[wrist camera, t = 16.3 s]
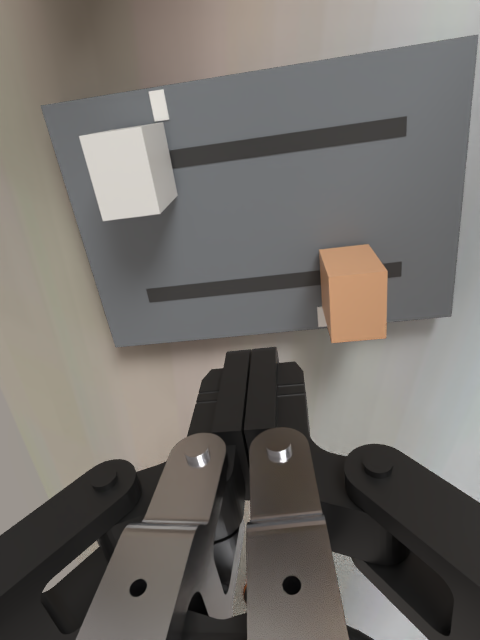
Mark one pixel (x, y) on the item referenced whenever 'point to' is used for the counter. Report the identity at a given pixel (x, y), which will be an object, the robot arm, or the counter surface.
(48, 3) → the counter surface
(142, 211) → the block
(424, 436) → the counter surface
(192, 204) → the console
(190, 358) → the counter surface
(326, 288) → the fader
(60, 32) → the counter surface
